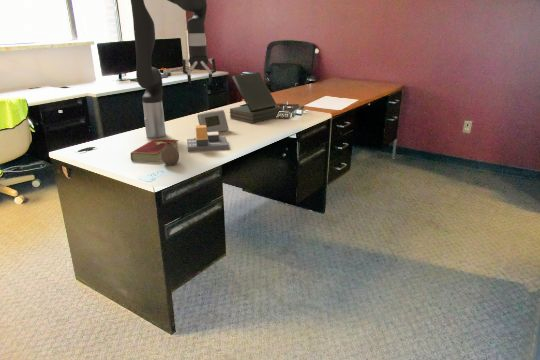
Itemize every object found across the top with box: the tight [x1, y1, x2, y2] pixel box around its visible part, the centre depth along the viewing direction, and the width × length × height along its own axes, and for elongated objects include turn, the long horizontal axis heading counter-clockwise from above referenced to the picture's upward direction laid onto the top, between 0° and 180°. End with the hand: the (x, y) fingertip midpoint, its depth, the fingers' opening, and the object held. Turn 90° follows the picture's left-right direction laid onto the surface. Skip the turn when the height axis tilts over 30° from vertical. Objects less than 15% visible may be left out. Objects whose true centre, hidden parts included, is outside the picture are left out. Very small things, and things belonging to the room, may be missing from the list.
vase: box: [161, 143, 180, 167], centre depth 167 cm, size 7×7×9 cm
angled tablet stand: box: [229, 71, 282, 125], centre depth 240 cm, size 23×20×25 cm
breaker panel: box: [186, 136, 230, 153], centre depth 191 cm, size 18×14×3 cm
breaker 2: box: [207, 132, 220, 141], centre depth 193 cm, size 5×5×3 cm
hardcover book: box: [130, 138, 179, 163], centre depth 182 cm, size 12×21×4 cm, turn 168°
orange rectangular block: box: [195, 124, 207, 139], centre depth 185 cm, size 4×4×5 cm
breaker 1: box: [195, 136, 208, 146], centre depth 187 cm, size 5×5×3 cm
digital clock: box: [196, 109, 230, 133], centre depth 213 cm, size 16×9×11 cm, turn 119°
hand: (200, 83), depth 184 cm, fingers open, 8 cm apart
